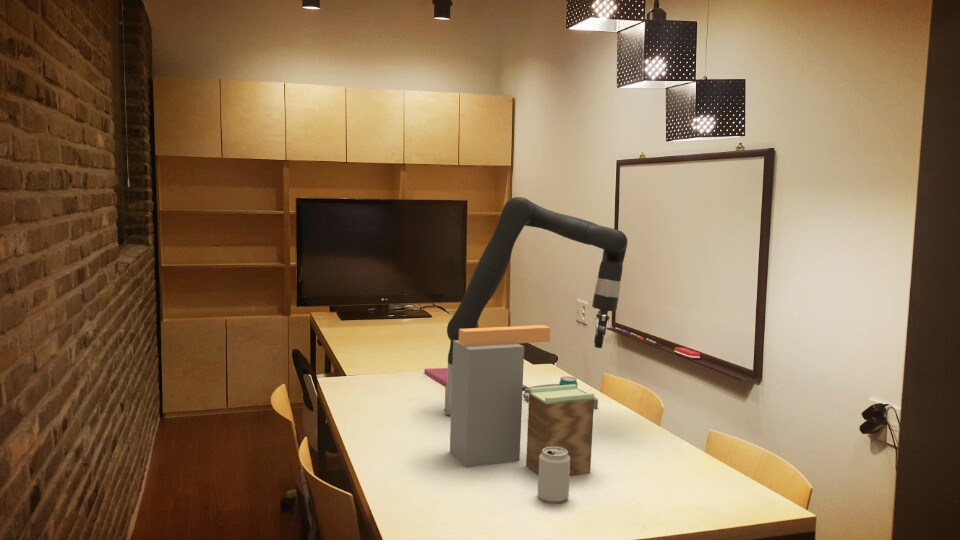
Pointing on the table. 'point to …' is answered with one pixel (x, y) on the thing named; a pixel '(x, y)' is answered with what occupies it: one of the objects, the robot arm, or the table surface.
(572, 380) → the beverage can
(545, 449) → the can
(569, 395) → the green tray
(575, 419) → the walnut pedestal
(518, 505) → the table surface
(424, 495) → the table surface
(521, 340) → the orange wooden bar
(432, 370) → the thin magenta plate
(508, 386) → the grey stand
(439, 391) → the table surface
